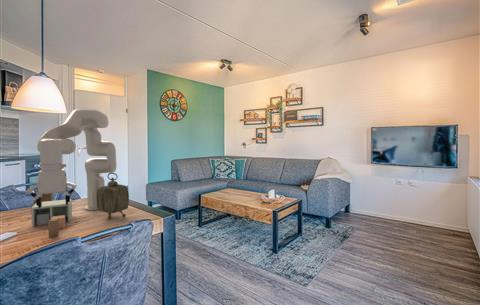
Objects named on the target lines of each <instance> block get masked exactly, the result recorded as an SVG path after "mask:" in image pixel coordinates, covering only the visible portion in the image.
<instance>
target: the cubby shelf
mask: <svg viewBox="0 0 480 305" xmlns="http://www.w3.org/2000/svg"><path fill="white" fill-rule="evenodd" d="M72 204H73V203H72V199H71V198H70V202H68V205H66V199H59V200H53V201H46V202H42V206H41V207H40V208H38V206H37V205H36V204H35V205H34V204H33V205H32V207H31V227H32V228H33V227H35V226H36V225H37V214H38V213H42V212H50V220H51V218H52V217H53V216H61V215H65V218H66V217H67V222H71V219H72V216H73V205H72Z"/></svg>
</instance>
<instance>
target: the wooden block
mask: <svg viewBox="0 0 480 305" xmlns="http://www.w3.org/2000/svg"><path fill="white" fill-rule="evenodd" d="M40 197H41V200H42V202H46V201H54V200H53V193H50V194H42V195H41V196H40ZM35 204H36V199H34V200H33V206H34V205H35Z"/></svg>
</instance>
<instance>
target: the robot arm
mask: <svg viewBox="0 0 480 305" xmlns="http://www.w3.org/2000/svg"><path fill="white" fill-rule="evenodd" d="M109 125H110V119H109V116H108V115H107V113H104V112H102V111H100V110H97V109H86V108H85V109H84V108H79V109H74V110H73V111H72V112H71V113H70V115H69V116H68V117H67V119H66V120H65V122H63V123H62V124H59V125H57V126H55V127H53V128H50V129H48V130H47V131H45V132H44V133H43V135H42V136H41V137H40V138H39V139H38V143H37V145H36V147H37V150H38V153H39V157H40V158H39V160H40V161H39V162H40V170H39V171H38V176H37V184H35V185H33V186H31V187H29V188H27V189H26V191H27V192H28V194H29V195H30V196H31V197H33V198H34V200H36V205H37V206H38V208H40V207H41V206H42V200H41V197H42V195H43V194H50V193H52V194H57V193H58V194H59V193H63V194H65V198H64V200H66V205H68V202H70V199H71V194H72V193H74V192H75V190H76V188H77V184H75V183H73V182H69V181H68V179H67V178H68V177H67V173H66V172H67V171H66V170H65V169H64V168H67V164H66V163H63V155H70V154H73V153H74V152H75V151H76V147H77V146H76V143H75V141H74V140H72V139H71V138H74V137H77V136H79V135H80V134H81V133H82V132H84V135H85V144H86V154H87V155H88V156H90V157H93V158H88V159H86V161H85V162H84V169H85V173H86V187H87V188H86V191H87V193H86V194H87V205H85V206H84V210H86V211H99V210H98V208H97V190H98V189H99V188H100V187H103V186H106V185H105V182H106V181H105V179H104V176H103V175H102V174H109V173H115V172H116V170H117V153H116V151H117V150H116V145H115V143H114V142H112V141H108V140H107V141H104V140H103V138H102V133H101V130H100V129H103V128H104V129H105V128H106V129H107V128H108V126H109ZM94 157H95V158H94ZM96 157H97V158H96ZM99 157H100V158H99ZM101 157H103V158H101ZM105 157H106V158H105ZM68 187H71V189H70V190H68ZM36 189H37V193H38V194H37V193H36V192H35V191H34V190H36Z"/></svg>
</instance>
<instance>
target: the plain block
mask: <svg viewBox="0 0 480 305" xmlns="http://www.w3.org/2000/svg"><path fill="white" fill-rule="evenodd" d="M49 220H50V212H42V213H38V214H37V223H36V225H37V226H38V225H45V224H46V225H48V221H49Z"/></svg>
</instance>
